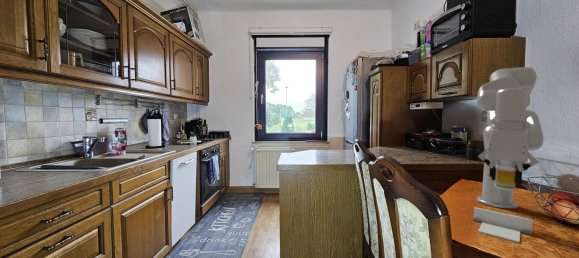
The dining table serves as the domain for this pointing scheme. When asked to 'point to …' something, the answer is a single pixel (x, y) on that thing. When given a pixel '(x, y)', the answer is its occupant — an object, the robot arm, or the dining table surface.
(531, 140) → the robot arm
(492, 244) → the dining table surface
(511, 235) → the mat
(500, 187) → the supplement bottle
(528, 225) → the low wall
